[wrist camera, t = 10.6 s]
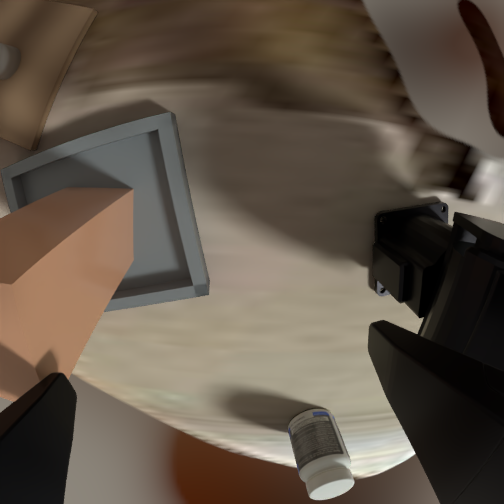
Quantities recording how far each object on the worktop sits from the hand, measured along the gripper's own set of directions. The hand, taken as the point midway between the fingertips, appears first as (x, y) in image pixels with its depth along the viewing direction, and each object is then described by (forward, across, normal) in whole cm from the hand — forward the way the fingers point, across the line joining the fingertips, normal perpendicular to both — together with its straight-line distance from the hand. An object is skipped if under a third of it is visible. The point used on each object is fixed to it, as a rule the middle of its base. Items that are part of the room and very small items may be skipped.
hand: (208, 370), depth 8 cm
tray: (+13, +7, -2) cm, 15 cm away
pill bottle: (+13, -5, +21) cm, 25 cm away
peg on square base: (+13, +12, -15) cm, 23 cm away
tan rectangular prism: (+12, +7, -2) cm, 14 cm away
